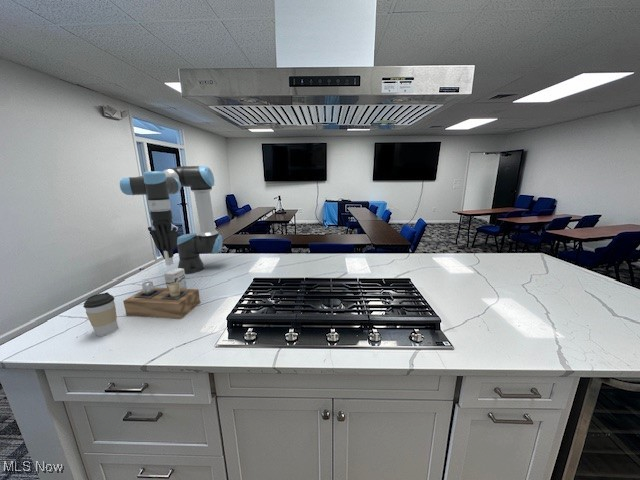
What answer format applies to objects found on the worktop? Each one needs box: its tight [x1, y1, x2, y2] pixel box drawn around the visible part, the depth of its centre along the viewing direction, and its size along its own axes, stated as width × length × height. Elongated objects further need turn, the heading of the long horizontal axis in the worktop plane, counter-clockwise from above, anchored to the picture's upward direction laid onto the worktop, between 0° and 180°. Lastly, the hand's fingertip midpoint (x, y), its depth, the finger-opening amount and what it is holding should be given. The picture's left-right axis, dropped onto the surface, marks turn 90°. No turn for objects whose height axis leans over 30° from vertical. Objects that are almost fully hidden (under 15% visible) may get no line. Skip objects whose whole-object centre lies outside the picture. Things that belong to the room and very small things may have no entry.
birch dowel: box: [169, 282, 181, 297], centre depth 111 cm, size 4×4×7 cm
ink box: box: [164, 267, 188, 289], centre depth 130 cm, size 9×5×12 cm, turn 168°
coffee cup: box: [83, 292, 119, 337], centre depth 97 cm, size 9×9×15 cm
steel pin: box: [141, 281, 155, 296], centre depth 113 cm, size 4×4×7 cm
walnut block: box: [122, 286, 201, 319], centre depth 113 cm, size 14×26×7 cm, turn 83°
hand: (169, 264), depth 108 cm, fingers closed
